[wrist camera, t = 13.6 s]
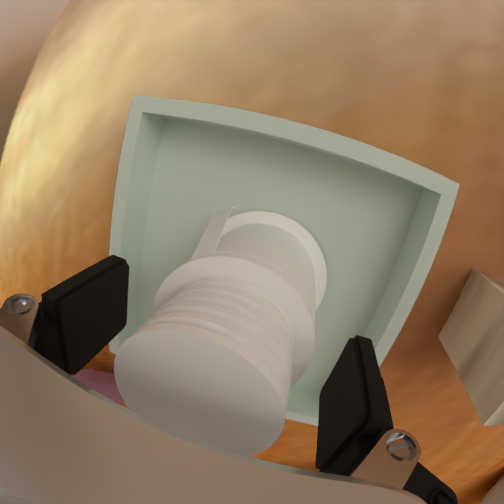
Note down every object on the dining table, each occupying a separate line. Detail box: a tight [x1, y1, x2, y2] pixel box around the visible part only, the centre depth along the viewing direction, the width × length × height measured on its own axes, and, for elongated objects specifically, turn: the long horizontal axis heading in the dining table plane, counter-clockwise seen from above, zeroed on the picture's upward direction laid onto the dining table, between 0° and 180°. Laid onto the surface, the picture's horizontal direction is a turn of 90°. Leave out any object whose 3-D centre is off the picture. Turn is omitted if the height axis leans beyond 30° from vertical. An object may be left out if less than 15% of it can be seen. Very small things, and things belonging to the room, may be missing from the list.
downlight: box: [114, 205, 327, 456], centre depth 11 cm, size 8×7×10 cm
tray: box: [109, 95, 460, 426], centre depth 15 cm, size 16×16×3 cm
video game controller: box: [71, 367, 126, 404], centre depth 21 cm, size 10×5×7 cm, turn 134°
